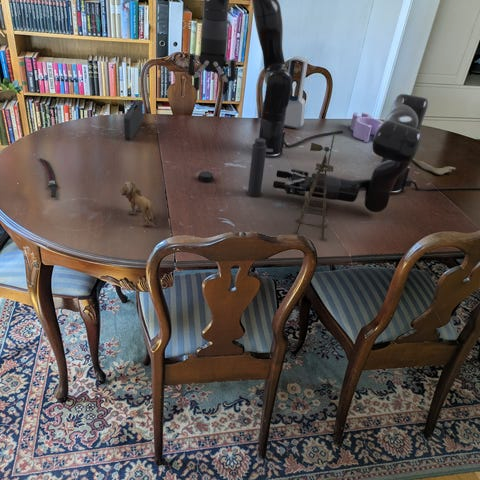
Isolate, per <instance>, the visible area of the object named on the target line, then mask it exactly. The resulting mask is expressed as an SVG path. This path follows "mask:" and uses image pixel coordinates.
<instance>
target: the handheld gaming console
mask: <svg viewBox="0 0 480 480" xmlns="http://www.w3.org/2000/svg"><path fill="white" fill-rule="evenodd" d="M143 107H144V105H143V100H142V99H136V100H135V101H134V102H133V103H132V104H131V106H130V107H129V108H128V109H127V111H126V113H125V114H124V115H123V116H124V117H123V125H124V126H123V127H124V128H123V129H124V139H125V140H128V141H129V140H130V141H132V139H133V138H134V137H135V135H136V133H137V132H138V131H139V129H140V128H141V126H142V124H143V120H144V113H143V112H144V111H143Z"/></svg>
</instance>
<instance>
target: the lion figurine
mask: <svg viewBox="0 0 480 480" xmlns="http://www.w3.org/2000/svg"><path fill="white" fill-rule="evenodd" d="M119 193H120V194H121V196H122V197H124V196H125V198H126V199H127V200H128V202H129V203H130V207H131V211H130V212H129V213H130V215H135V214H136V211H137V212H141V214H142V216H143V218H144V219H145V223H144V225H145V227H149V226H150V221H152V223H153V225H155V226H159V222H156V221H155V219H154V217H153V216H154V215H153V204H152V202H151V200H150V199H148V198H146V197H145V196H144V195H143V194H142V192H141V190H140V187H138V185H136V184H135V183H133V182H132V181H125V182H124V186H122V188H121V189H119ZM136 207H137V208H136ZM148 214H149V216H148Z"/></svg>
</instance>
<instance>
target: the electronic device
mask: <svg viewBox="0 0 480 480" xmlns="http://www.w3.org/2000/svg"><path fill="white" fill-rule="evenodd" d="M296 62H297V63H301V68H300V74H299V81H298V87H297V94H296V96H294V95H292V94H291V93H292V92H291V93H290V99H289V104H288V106H287V109H286V116H285V123H284V128H289V129H294V130H295V129H296V130H300V129H301V128H302V126H303V125H304V124H305V114H306V113H305V112H306V100H305V98H304V97H303V96H304V95H303V94H304V87H305V82H306V75H307V69H308V63H309V59H308V58H307V57H305V56H301V55H296V56H292V57H291V58H290V59H289V62H288V68H287V70H288V72H289V73H290V75H291V77H292V81H293V80H294V73H295V68H296V67H295V66H296Z"/></svg>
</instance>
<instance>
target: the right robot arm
mask: <svg viewBox="0 0 480 480" xmlns="http://www.w3.org/2000/svg"><path fill="white" fill-rule="evenodd" d="M428 105H429V101H428V99H427V98H426V97H422V96H419V95H413V94H407V93H401V94H398V95H397V96H396V97H395V98H394V100H393V102H392V105H391V107H390V110H389V112H388V113H387V114H386V117H385V119H384V121H382V122H383V123H382V124H381V126H380V127H379V128H378V130H377V132H376V134H375V135H373V140H372V147H371V148H372V152H373V153H374V154H375V155H376V156H378V157H381V160H380V161H381V162H380V164H378V165H377V166H376V167H375V168H374V170H373V171H372V173H371V176H370V178H366V179H365V178H364V179H349V178H343V177H338V176H335V175H328V174H327V180H326V187H327V189H326V200H332V201H333V200H334V201H341V202H347V203H348V202H349V203H354V202H356V201H357V199H358V196H359V193H360V192H365V193H364V200H363V201H364V202H363V204H364V207H365V208H366V209H367V210H368V211H369V212H372V213H380V212H382V211H384V210H385V209H386V208H387V207H388V204H389V201H390V196H391V195H398V194H400V193H401V192H402V193H403V192H404V190H405V187H406V188H408V187H409V188H410V187H411V186H412V184H413V185H414V187H415V189H416V190H417V191H424V192H425V191H428V192H429V191H441V190H442V191H444V190H480V186H479V187H478V186H450V187H449V186H447V187H430V188H420V187H418V184H417V183H416V181H414V180H413V179H411V178H410V177H409V173H410V171H411V166H410V163H411V162H413V158H415V156H416V154H417V153H418V150H419V148H420V145H421V142H422V136H423V135H422V132H421V131H420V130H421V127H422V125H423V122H424V119H425V116H426V113H427V111H428ZM309 174H310V173H309V172H308V171H304V170H300V169H294V168H291V169H290V170H289V171H286V170H280V169H278V170H276V175H275V176H276V178H281V179H288V180H290V182H289V181H288V182H285V181H280V180H274V181H273V182H272V188H273V189H278V190H284V192H285V193H286V195H292V196H300V197H306V193H309V192H310V190H311V186H312V185H313V182H314V178H316V174H317V172H316V173H315V172H312V174H311V176H309ZM319 178H324V175H319ZM316 185H317V186H323V187H324V180H321V179H318V180H317V183H316ZM313 192H318V193H324V188H320V187H315V188H314V191H313ZM323 197H324V195H321V194H315V193H313V194H312V196H311V198H317V199H323Z"/></svg>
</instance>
